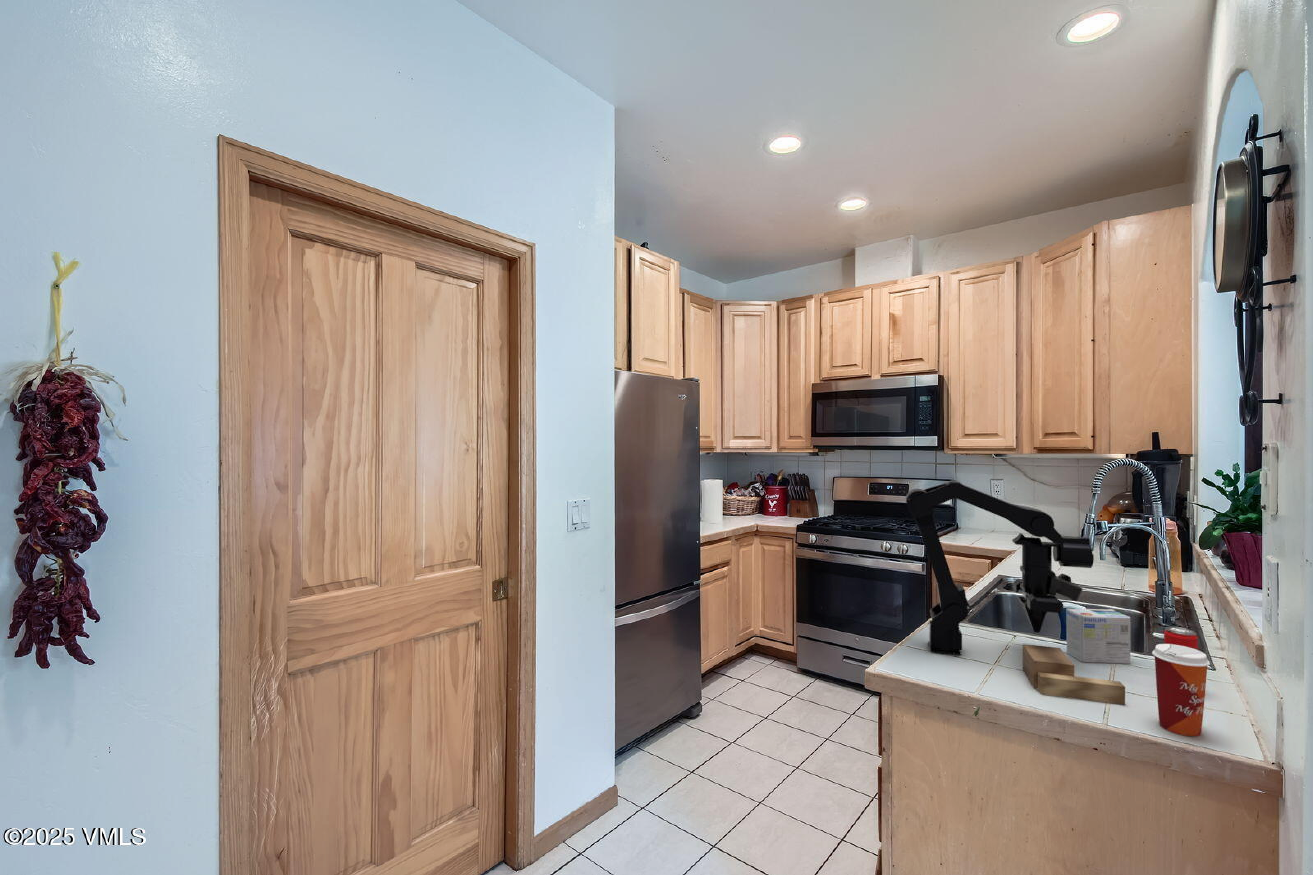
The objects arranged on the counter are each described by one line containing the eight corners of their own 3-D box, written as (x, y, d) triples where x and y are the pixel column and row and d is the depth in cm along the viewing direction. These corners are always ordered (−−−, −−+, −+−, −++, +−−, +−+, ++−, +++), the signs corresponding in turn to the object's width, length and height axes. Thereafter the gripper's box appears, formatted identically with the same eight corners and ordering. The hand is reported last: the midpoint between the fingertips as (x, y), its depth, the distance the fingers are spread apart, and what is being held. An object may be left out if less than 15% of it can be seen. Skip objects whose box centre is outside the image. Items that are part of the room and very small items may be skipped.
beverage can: (1190, 696, 118) (1190, 636, 118) (1158, 686, 123) (1159, 628, 123) (1202, 691, 120) (1202, 632, 120) (1170, 681, 125) (1171, 625, 125)
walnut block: (1033, 689, 122) (1034, 660, 122) (1022, 670, 131) (1022, 643, 131) (1074, 694, 120) (1074, 665, 119) (1059, 675, 129) (1059, 647, 129)
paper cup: (1194, 743, 100) (1195, 661, 100) (1142, 723, 107) (1142, 646, 107) (1219, 734, 103) (1220, 654, 103) (1166, 714, 111) (1167, 640, 110)
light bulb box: (1112, 653, 141) (1112, 608, 141) (1132, 664, 134) (1132, 617, 134) (1064, 652, 142) (1064, 607, 142) (1081, 663, 135) (1082, 616, 135)
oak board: (1041, 694, 119) (1041, 676, 119) (1037, 689, 122) (1037, 672, 122) (1125, 704, 115) (1125, 686, 115) (1119, 699, 117) (1120, 681, 117)
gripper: (1092, 576, 125) (1091, 650, 125) (1066, 558, 142) (1066, 623, 142) (1030, 572, 129) (1030, 644, 129) (1012, 555, 146) (1012, 618, 146)
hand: (1036, 632), depth 137 cm, fingers closed
